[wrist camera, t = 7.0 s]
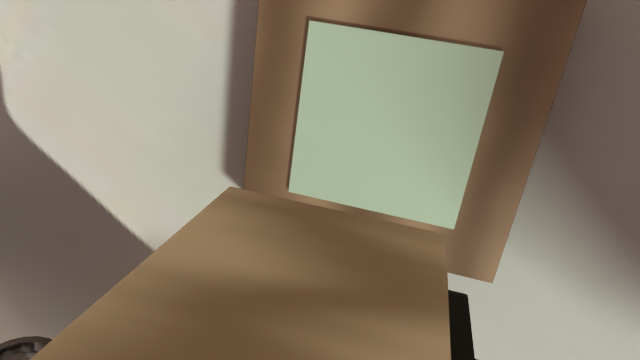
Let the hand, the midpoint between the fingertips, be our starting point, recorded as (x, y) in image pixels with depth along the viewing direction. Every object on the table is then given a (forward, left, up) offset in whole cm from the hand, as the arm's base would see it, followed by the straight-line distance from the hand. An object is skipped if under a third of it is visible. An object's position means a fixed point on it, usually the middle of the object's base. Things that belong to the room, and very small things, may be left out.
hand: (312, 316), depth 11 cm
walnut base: (0, 0, -20) cm, 20 cm away
